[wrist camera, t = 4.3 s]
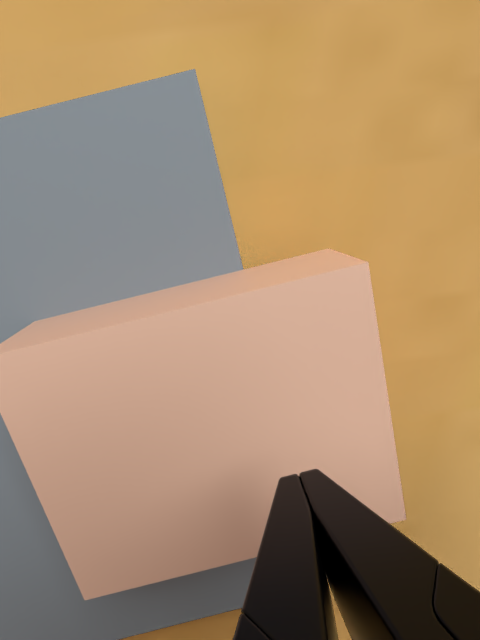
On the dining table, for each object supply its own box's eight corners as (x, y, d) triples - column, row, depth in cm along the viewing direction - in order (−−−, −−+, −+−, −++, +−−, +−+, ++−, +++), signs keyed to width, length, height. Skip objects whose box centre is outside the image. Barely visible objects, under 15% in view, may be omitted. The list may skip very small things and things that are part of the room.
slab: (406, 519, 12) (84, 600, 12) (364, 452, 16) (111, 515, 16) (367, 262, 10) (-24, 359, 10) (328, 248, 14) (34, 321, 13)
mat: (311, 558, 19) (320, 587, 17) (5, 637, 19) (-13, 673, 17) (196, 83, 13) (194, 68, 12) (-238, 193, 13) (-293, 191, 12)
